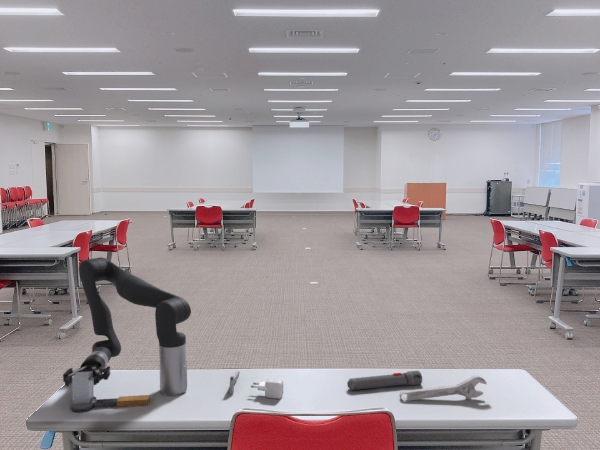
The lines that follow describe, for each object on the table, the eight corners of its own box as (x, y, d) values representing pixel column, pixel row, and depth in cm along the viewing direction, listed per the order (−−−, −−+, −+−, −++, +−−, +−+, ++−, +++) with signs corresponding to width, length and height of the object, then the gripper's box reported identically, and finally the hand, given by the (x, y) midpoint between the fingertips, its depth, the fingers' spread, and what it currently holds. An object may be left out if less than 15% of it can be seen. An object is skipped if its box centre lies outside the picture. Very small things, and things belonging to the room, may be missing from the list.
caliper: (232, 396, 169) (232, 378, 168) (229, 396, 169) (229, 378, 168) (239, 373, 189) (239, 357, 189) (237, 373, 189) (236, 357, 189)
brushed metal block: (93, 397, 162) (92, 371, 162) (89, 403, 157) (88, 377, 157) (78, 398, 162) (77, 372, 161) (73, 404, 157) (72, 378, 156)
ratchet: (151, 397, 167) (150, 382, 166) (147, 408, 159) (146, 392, 158) (74, 402, 163) (74, 386, 163) (67, 413, 155) (66, 396, 155)
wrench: (400, 406, 167) (486, 396, 167) (401, 409, 165) (488, 398, 165) (398, 384, 166) (484, 374, 166) (399, 386, 164) (486, 376, 164)
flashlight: (345, 388, 175) (346, 375, 175) (416, 381, 182) (416, 368, 181) (350, 394, 170) (350, 380, 170) (422, 386, 177) (422, 373, 176)
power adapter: (249, 397, 167) (249, 380, 167) (254, 391, 172) (254, 375, 172) (280, 400, 165) (280, 384, 164) (284, 394, 169) (284, 378, 169)
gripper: (73, 355, 172) (57, 372, 156) (115, 353, 174) (103, 370, 158) (74, 375, 172) (58, 395, 156) (115, 373, 174) (104, 392, 158)
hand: (81, 382), depth 157 cm, fingers open, 8 cm apart
